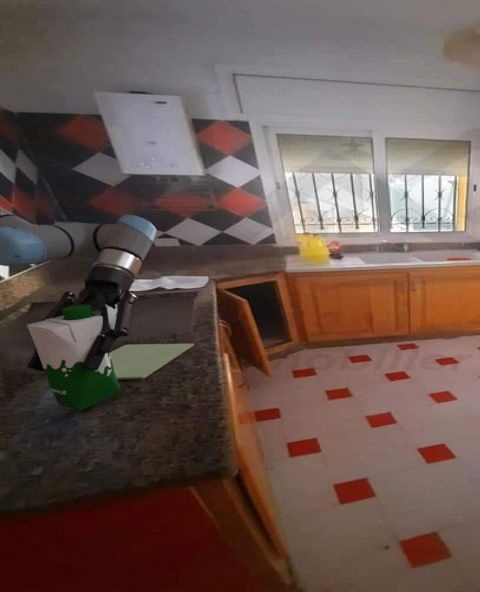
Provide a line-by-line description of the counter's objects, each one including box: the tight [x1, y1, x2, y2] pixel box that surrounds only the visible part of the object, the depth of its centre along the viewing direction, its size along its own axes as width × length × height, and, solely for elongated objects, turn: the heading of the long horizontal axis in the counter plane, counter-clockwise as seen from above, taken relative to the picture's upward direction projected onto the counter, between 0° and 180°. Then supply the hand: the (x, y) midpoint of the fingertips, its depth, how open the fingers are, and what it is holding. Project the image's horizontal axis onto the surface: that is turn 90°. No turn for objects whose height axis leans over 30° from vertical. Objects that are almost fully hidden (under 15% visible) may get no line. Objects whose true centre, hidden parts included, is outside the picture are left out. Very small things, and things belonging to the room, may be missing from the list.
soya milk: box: [26, 304, 122, 412], centre depth 65 cm, size 9×9×20 cm
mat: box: [109, 343, 195, 380], centre depth 88 cm, size 20×20×1 cm
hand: (63, 368), depth 62 cm, fingers closed on soya milk, 9 cm apart
